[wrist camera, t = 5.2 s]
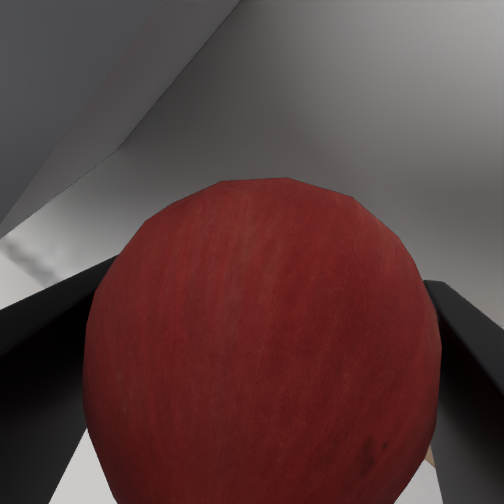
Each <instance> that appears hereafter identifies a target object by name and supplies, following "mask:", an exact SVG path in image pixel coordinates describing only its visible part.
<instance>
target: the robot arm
mask: <svg viewBox="0 0 504 504" xmlns="http://www.w3.org/2000/svg"><path fill="white" fill-rule="evenodd" d="M117 257H118V255H116V256H114V257H112V258H110V259H108V260H106V261H104V262H101V263H99V264H97V265H95V266H93V267H91V268H89V269H87V270H84V271H82V272H80V273H78V274H76V275H74V276H72V277H69V278H67V279H65V280H63V281H61V282H59V283H57V284H55V285H52V286H50V287H48V288H46V289H44V290H42V291H40V292H37V293H35V294H33V295H31V296H29V297H27V298H25V299H23V300H20V301H18V302H16V303H14V304H12V305H10V306H8V307H5V308H3V309H1V310H0V504H49V502H50V500H51V498H52V496H53V494H54V492H55V490H56V488H57V486H58V484H59V482H60V480H61V478H62V476H63V474H64V472H65V470H66V468H67V466H68V464H69V462H70V460H71V458H72V456H73V454H74V452H75V450H76V448H77V446H78V444H79V442H80V440H81V438H82V436H83V434H84V432H85V430H86V428H87V424H86V419H85V414H84V410H83V405H82V372H83V360H84V349H85V337H86V325H87V321H88V317H89V313H90V309H91V306H92V302H93V298H94V294H95V291H96V289H97V288H98V286H99V284H100V283H101V281H102V280H103V278H104V276H105V275H106V273H107V272H108V270H109V268H110V267H111V265H112V263H113V262H114V260H115V259H116V258H117ZM423 283H424V285H425V288H426V290H427V292H428V295H429V297H430V299H431V302H432V304H433V306H434V308H435V311H436V315H437V321H438V327H439V333H440V339H441V345H442V352H441V366H440V380H439V394H438V408H437V422H436V428H435V431H434V434H433V437H432V440H431V443H430V446H431V451H432V455H433V460H434V464H435V469H436V473H437V478H438V482H439V487H440V491H441V496H442V500H443V504H504V330H503V329H502V328H501V327H500V326H498V325H497V324H496V323H495V322H493V321H492V320H491V319H490V318H488V317H487V316H486V315H485V314H483V313H482V312H481V311H480V310H478V309H477V308H476V307H475V306H473V305H472V304H471V303H470V302H468V301H467V300H466V299H465V298H463V297H462V296H461V295H460V294H458V293H457V292H456V291H455V290H453V289H452V288H451V287H450V286H448V285H447V284H446V283H444V282H442V281H432V280H423Z"/></svg>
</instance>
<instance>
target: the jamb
mask: <svg viewBox="0 0 504 504" xmlns="http://www.w3.org/2000/svg"><path fill="white" fill-rule="evenodd" d="M239 2H240V0H0V239H1V238H2V237H3V236H5V235H6V234H7V233H9V232H10V231H11V230H13V229H14V228H15V227H16V226H18V225H19V224H20V223H22V222H23V221H24V220H26V219H27V218H28V217H30V216H31V215H32V214H34V213H35V212H36V211H38V210H39V209H40V208H41V207H43V206H44V205H45V204H47V203H48V202H49V201H51V200H52V199H53V198H55V197H56V196H57V195H59V194H60V193H61V192H63V191H64V190H65V189H66V188H68V187H69V186H70V185H72V184H73V183H74V182H76V181H77V180H78V179H80V178H81V177H82V176H84V175H85V174H86V173H88V172H89V171H90V170H91V169H93V168H94V167H95V166H97V165H98V164H99V163H101V162H102V161H103V160H105V159H106V158H107V157H109V156H110V155H111V154H113V153H114V152H115V151H116V150H117V149H118V148H119V147H120V145H121V144H122V143H123V142H124V141H125V139H126V138H127V137H128V136H129V135H130V133H131V132H132V131H133V130H134V128H135V127H136V126H137V125H138V124H139V122H140V121H141V120H142V119H143V118H144V116H145V115H146V114H147V113H148V112H149V110H150V109H151V108H152V107H153V106H154V104H155V103H156V102H157V101H158V99H159V98H160V97H161V96H162V95H163V93H164V92H165V91H166V90H167V89H168V87H169V86H170V85H171V84H172V83H173V81H174V80H175V79H176V78H177V77H178V75H179V74H180V73H181V72H182V71H183V69H184V68H185V67H186V66H187V64H188V63H189V62H190V61H191V60H192V58H193V57H194V56H195V55H196V54H197V52H198V51H199V50H200V49H201V48H202V46H203V45H204V44H205V43H206V42H207V40H208V39H209V38H210V37H211V35H212V34H213V33H214V32H215V31H216V29H217V28H218V27H219V26H220V25H221V23H222V22H223V21H224V20H225V19H226V17H227V16H228V15H229V14H230V13H231V11H232V10H233V9H234V8H235V6H236V5H237V4H238V3H239Z"/></svg>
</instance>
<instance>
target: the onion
mask: <svg viewBox="0 0 504 504" xmlns="http://www.w3.org/2000/svg"><path fill="white" fill-rule="evenodd" d="M441 352H442V345H441V339H440V333H439V327H438V321H437V315H436V311H435V308H434V306H433V304H432V302H431V299H430V297H429V295H428V292H427V290H426V288H425V285H424V283H423V281H422V278H421V276H420V274H419V271H418V269H417V267H416V264H415V262H414V260H413V258H412V257H411V255H410V254H409V252H408V251H407V249H406V248H405V246H404V245H403V243H402V242H401V240H400V239H399V237H398V236H397V235H396V234H394V233H393V232H392V231H391V230H390V229H389V228H387V227H386V226H385V225H384V224H383V223H382V222H380V221H379V220H378V219H377V218H376V217H375V216H373V215H372V214H371V213H370V212H369V211H368V210H367V209H365V208H364V207H363V206H362V205H361V204H360V203H358V202H357V201H356V200H355V199H354V198H353V197H350V196H347V195H343V194H340V193H337V192H333V191H330V190H327V189H323V188H320V187H317V186H313V185H310V184H307V183H303V182H300V181H297V180H293V179H290V178H269V179H250V180H231V181H220V182H218V183H216V184H214V185H212V186H209V187H207V188H205V189H203V190H200V191H198V192H196V193H194V194H192V195H189V196H187V197H185V198H183V199H180V200H178V201H176V202H174V203H172V204H170V205H169V206H167V207H166V208H164V209H163V210H161V211H160V212H158V213H157V214H155V215H154V216H152V217H151V218H149V219H148V220H146V221H145V222H144V223H143V225H142V226H141V227H140V229H139V230H138V231H137V232H136V234H135V235H134V236H133V237H132V239H131V240H130V241H129V243H128V244H127V245H126V246H125V248H124V249H123V250H122V252H121V253H120V254H119V255H118V257H117V258H116V259H115V260H114V262H113V263H112V265H111V267H110V268H109V270H108V272H107V273H106V275H105V276H104V278H103V280H102V281H101V283H100V284H99V286H98V288H97V289H96V291H95V294H94V298H93V302H92V306H91V309H90V313H89V317H88V321H87V325H86V337H85V349H84V360H83V372H82V405H83V410H84V414H85V419H86V424H87V429H88V433H89V436H90V439H91V441H92V444H93V446H94V449H95V452H96V454H97V457H98V459H99V462H100V464H101V467H102V469H103V472H104V475H105V477H106V480H107V482H108V485H109V487H110V490H111V492H112V495H113V497H114V499H115V500H116V502H117V504H394V503H395V501H396V500H397V498H398V497H399V496H400V494H401V493H402V492H403V490H404V489H405V488H406V486H407V485H408V483H409V482H410V480H411V479H412V477H413V476H414V474H415V473H416V471H417V469H418V468H419V466H420V465H421V463H422V462H423V460H424V459H425V457H426V454H427V451H428V449H429V446H430V443H431V440H432V437H433V434H434V431H435V428H436V422H437V408H438V394H439V380H440V366H441Z"/></svg>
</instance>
